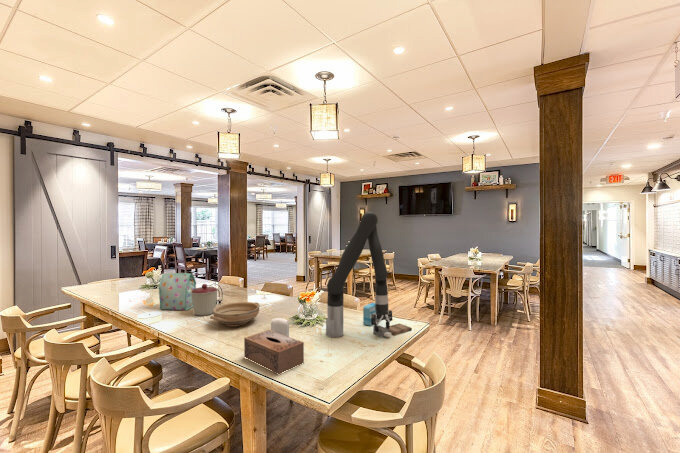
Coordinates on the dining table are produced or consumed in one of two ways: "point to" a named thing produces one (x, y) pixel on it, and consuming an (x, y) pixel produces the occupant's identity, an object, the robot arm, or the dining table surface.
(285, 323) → the photo printer
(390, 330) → the walnut board
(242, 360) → the dining table surface
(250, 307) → the ceramic bowl
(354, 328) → the dining table surface
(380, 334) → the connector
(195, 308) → the canister
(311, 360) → the dining table surface
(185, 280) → the lunch bag
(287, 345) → the tissue box cover
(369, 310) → the data package
